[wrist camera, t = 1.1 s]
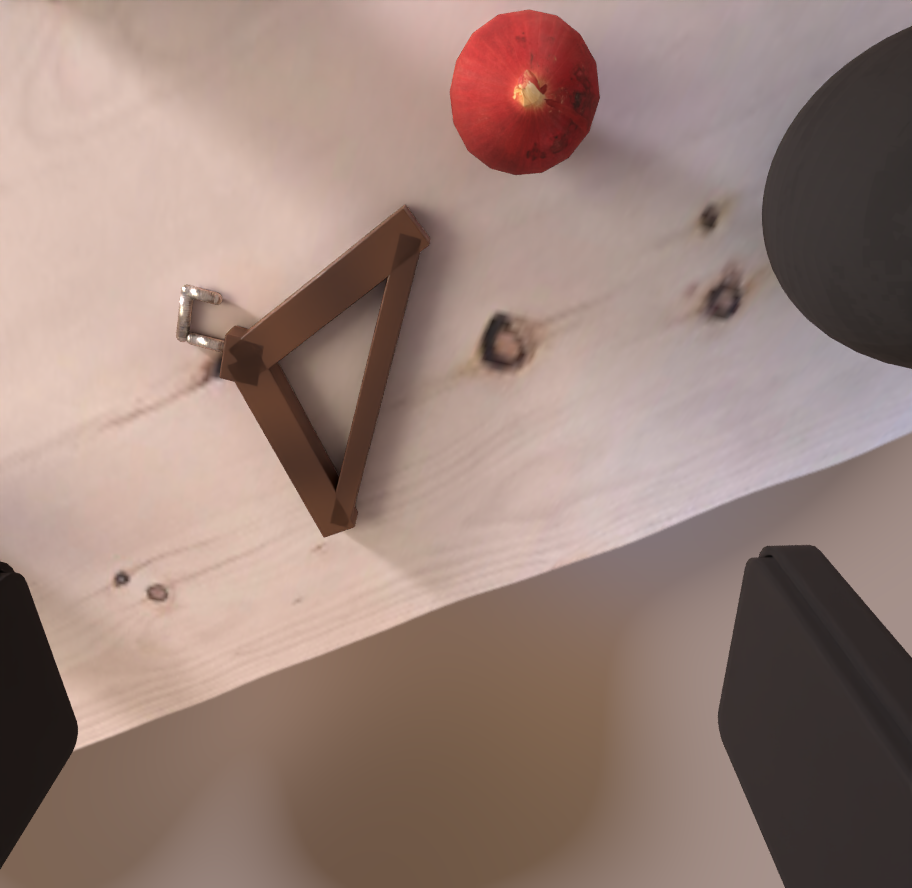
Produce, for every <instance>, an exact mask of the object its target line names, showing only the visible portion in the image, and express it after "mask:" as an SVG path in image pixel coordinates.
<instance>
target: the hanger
mask: <svg viewBox="0 0 912 888" xmlns="http://www.w3.org/2000/svg"><path fill="white" fill-rule="evenodd" d="M429 244H430V237H429V236H428V234H427V233H426V232H425V230H424V229H423V228H422V226H421V225H420V223H419V222H418V221H417V219H416V218H415V217H414V215H413V214H412V213H411V211H410V210H409V208H408V207H407V206H406V205H403V206H402V207H401V208H400V209H398V210H397V211H396V212H395V213H393V214H392V215H391V216H390V217H388V218H387V219H386V220H385V221H383V222H382V223H381V224H380V225H378V226H377V227H376V228H375V229H373V230H372V231H371V232H370V233H368V234H367V235H366V236H365V237H363V238H362V239H361V240H360V241H358V242H357V243H356V244H355V245H353V246H352V247H351V248H350V249H348V250H347V251H346V252H345V253H343V254H342V255H341V256H340V257H338V258H337V259H336V260H335V261H333V262H332V263H331V264H330V265H328V266H327V267H326V268H325V269H323V270H322V271H321V272H320V273H318V274H317V275H316V276H315V277H313V278H312V279H311V280H310V281H308V282H307V283H306V284H305V285H303V286H302V287H301V288H300V289H299V290H297V291H296V292H295V293H294V294H292V295H291V296H290V297H289V298H287V299H286V300H285V301H284V302H282V303H281V304H280V305H279V306H277V307H276V308H275V309H274V310H272V311H271V312H270V313H269V314H267V315H266V316H265V317H264V318H262V319H261V320H260V321H259V322H257V323H256V324H255V325H254V326H252V327H251V328H250V329H246V328H242V327H239V326H234V327H233V328H232V329H231V330H230V331H229V332H228V333H227V334H226V335H225V341H223V340H219V339H215V338H211V337H208V336H204V335H200V334H196V333H189V330H190V322H191V313H192V305H193V299H196V300H200V301H204V302H207V303H211V304H215V305H218V304H220V303H221V302H222V296H221V295H220V294H219V293H217V292H213V291H209V290H206V289H202V288H198V287H195V286H191V285H184V286H183V287H182V288H181V295H180V304H179V313H178V322H177V332H176V338H177V339H178V340H179V341H180V342H185V341H187V342H188V343H189V344H192V345H196V346H199V347H203V348H207V349H211V350H215V351H219V352H223V356H222V363H221V370H220V378H222V379H226V380H230V381H234V382H235V383H236V385H237V387H238V388H239V390H240V392H241V394H242V395H243V397H244V399H245V401H246V402H247V404H248V406H249V408H250V409H251V411H252V413H253V415H254V416H255V418H256V420H257V422H258V423H259V425H260V427H261V429H262V430H263V432H264V434H265V436H266V437H267V439H268V441H269V443H270V444H271V446H272V448H273V450H274V451H275V453H276V455H277V457H278V458H279V460H280V462H281V464H282V465H283V467H284V469H285V471H286V472H287V474H288V476H289V478H290V479H291V481H292V483H293V485H294V486H295V488H296V490H297V492H298V493H299V495H300V497H301V499H302V500H303V502H304V504H305V506H306V507H307V509H308V511H309V513H310V514H311V516H312V518H313V520H314V521H315V523H316V525H317V527H318V528H319V530H320V532H321V534H322V535H323V537H327V536H330V535H333V534H336V533H339V532H342V531H345V530H348V529H351V528H353V527H355V524H356V520H357V515H358V511H357V509H356V507H355V503H356V499H357V495H358V491H359V487H360V483H361V480H362V476H363V472H364V468H365V464H366V460H367V456H368V453H369V449H370V445H371V441H372V437H373V433H374V429H375V425H376V422H377V418H378V414H379V410H380V406H381V402H382V398H383V395H384V391H385V387H386V383H387V379H388V375H389V371H390V367H391V364H392V360H393V356H394V352H395V348H396V344H397V340H398V337H399V333H400V329H401V325H402V321H403V317H404V313H405V310H406V306H407V302H408V298H409V294H410V290H411V286H412V282H413V279H414V275H415V271H416V267H417V263H418V259H419V255H420V252H421V251H422V250H423V249H425V248H426V247H427V246H429ZM387 277H388V278H387ZM386 278H387V282H386V286H385V290H384V294H383V298H382V302H381V306H380V311H379V315H378V319H377V323H376V327H375V331H374V335H373V340H372V344H371V348H370V352H369V356H368V360H367V364H366V368H365V373H364V377H363V381H362V385H361V389H360V393H359V397H358V402H357V406H356V410H355V414H354V418H353V422H352V426H351V431H350V435H349V439H348V443H347V447H346V451H345V455H344V459H343V464H342V468H341V472H340V476H338V474H337V472H336V470H335V468H334V466H333V464H332V463H331V461H330V459H329V457H328V455H327V453H326V451H325V449H324V448H323V446H322V444H321V442H320V440H319V438H318V436H317V435H316V433H315V431H314V429H313V427H312V425H311V423H310V421H309V420H308V418H307V416H306V414H305V412H304V410H303V408H302V406H301V405H300V403H299V401H298V399H297V397H296V395H295V393H294V391H293V390H292V388H291V386H290V384H289V382H288V380H287V378H286V377H285V375H284V373H283V371H282V369H281V367H280V365H279V363H278V361H280V360H281V359H282V358H284V357H285V356H286V355H288V354H289V353H290V352H291V351H293V350H294V349H295V348H297V347H298V346H299V345H300V344H302V343H303V342H304V341H306V340H307V339H308V338H310V337H311V336H312V335H313V334H315V333H316V332H317V331H319V330H320V329H321V328H322V327H324V326H325V325H326V324H328V323H329V322H330V321H332V320H333V319H334V318H335V317H337V316H338V315H339V314H341V313H342V312H343V311H344V310H346V309H347V308H348V307H350V306H351V305H352V304H354V303H355V302H356V301H357V300H359V299H360V298H361V297H363V296H364V295H365V294H366V293H368V292H369V291H370V290H372V289H373V288H374V287H376V286H377V285H378V284H379V283H381V282H382V281H383V280H385V279H386Z"/></svg>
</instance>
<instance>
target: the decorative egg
mask: <svg viewBox="0 0 912 888" xmlns="http://www.w3.org/2000/svg"><path fill="white" fill-rule="evenodd" d="M762 225H763V235H764V241H765V246H766V251H767V254H768V257H769V260H770V263H771V266H772V269H773V271H774V273H775V275H776V277H777V279H778V281H779V283H780V285H781V287H782V288H783V290H784V291H785V293H786V294H787V296H788V297H789V299H790V300H791V301H792V302H793V304H794V305H795V306H796V307H797V308H798V309H799V311H800V312H801V313H802V314H803V315H804V316H805V317H806V318H807V319H808V320H809V321H810V322H812V323H813V324H814V325H815V326H817V327H818V328H819V329H820V330H822V331H823V332H824V333H825V334H827V335H828V336H829V337H831V338H833V339H834V340H836V341H838V342H840V343H842V344H843V345H845V346H847V347H849V348H851V349H852V350H854V351H856V352H858V353H861V354H863V355H866V356H869V357H872V358H874V359H877V360H880V361H882V362H885V363H888V364H893V365H897V366H902V367H906V368H911V369H912V26H911V27H909V28H906V29H904V30H902V31H900V32H898V33H896V34H894V35H892V36H890V37H888V38H886V39H884V40H882V41H881V42H879V43H877V44H876V45H874V46H872V47H871V48H869V49H868V50H866V51H865V52H863V53H862V54H860V55H859V56H857V57H856V58H855V59H853V60H852V61H850V62H849V63H848V64H846V65H845V66H844V67H843V68H841V69H840V70H839V71H838V72H837V73H836V74H834V75H833V76H832V77H831V78H830V79H829V80H828V81H827V82H826V83H825V84H824V85H823V86H822V87H821V88H820V89H819V90H818V91H817V92H816V93H815V94H814V95H813V96H812V97H811V98H810V100H809V101H808V102H807V103H806V105H805V106H804V107H803V108H802V109H801V111H800V112H799V113H798V115H797V116H796V118H795V119H794V121H793V122H792V124H791V125H790V127H789V128H788V130H787V132H786V133H785V135H784V137H783V139H782V141H781V143H780V144H779V146H778V149H777V151H776V154H775V156H774V158H773V161H772V164H771V167H770V170H769V173H768V176H767V181H766V185H765V190H764V197H763V207H762Z"/></svg>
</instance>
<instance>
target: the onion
mask: <svg viewBox="0 0 912 888" xmlns="http://www.w3.org/2000/svg"><path fill="white" fill-rule="evenodd" d="M450 98H451V106H452V114H453V122H454V125H455V127H456V129H457V131H458V133H459V135H460V136H461V138H462V140H463V142H464V144H465V146H466V148H467V150H468V151H469V152H470V153H471V154H473V155H474V156H475V157H477V158H478V159H479V160H480V161H482V162H483V163H484V164H486V165H487V166H488V167H489V168H491V169H495V170H498V171H502V172H506V173H510V174H513V175H522V174H533V173H542V172H544V171H546V170H548V169H549V168H551V167H553V166H555V165H557V164H558V163H560V162H562V161H564V160H565V159H567V158H569V157H570V155H571V154H572V153H573V152H574V150H575V149H576V148H577V147H578V145H579V144H580V143H581V142H582V140H583V139H584V138H585V136H586V135H587V134H588V133H589V131H590V128H591V124H592V121H593V118H594V115H595V112H596V108H597V105H598V102H599V99H600V95H599V85H598V76H597V66H596V62H595V60H594V58H593V56H592V54H591V53H590V51H589V49H588V47H587V45H586V44H585V42H584V40H583V38H582V36H581V35H580V34H579V33H578V32H577V31H576V30H574V29H573V28H572V27H571V26H569V25H568V24H567V23H566V22H564V21H563V20H562V19H561V18H559V17H558V16H556V15H551V14H547V13H542V12H538V11H533V10H524V11H518V12H512V13H506V14H500V15H497V16H496V17H494V18H493V19H492V20H490V21H489V22H487V23H486V24H485V25H483V26H482V27H481V28H479V29H478V30H476V31H475V32H474V33H473V34H472V35H471V37H470V39H469V40H468V42H467V44H466V45H465V47H464V49H463V50H462V52H461V54H460V55H459V57H458V59H457V61H456V65H455V70H454V74H453V79H452V84H451V89H450Z"/></svg>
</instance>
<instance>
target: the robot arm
mask: <svg viewBox="0 0 912 888" xmlns="http://www.w3.org/2000/svg"><path fill="white" fill-rule="evenodd" d="M718 724H719V731H720V735H721V739H722V742H723V744H724V747H725V749H726V751H727V753H728V756H729V758H730V761H731V763H732V765H733V767H734V770H735V772H736V774H737V777H738V779H739V781H740V784H741V786H742V788H743V791H744V793H745V795H746V798H747V800H748V802H749V805H750V807H751V809H752V812H753V814H754V816H755V819H756V821H757V823H758V825H759V828H760V830H761V833H762V835H763V837H764V840H765V842H766V844H767V847H768V849H769V851H770V854H771V856H772V858H773V860H774V863H775V865H776V867H777V870H778V872H779V874H780V877H781V879H782V881H783V884H784V886H785V888H912V658H911V656H910V655H909V654H908V653H907V652H906V651H905V649H904V648H903V647H902V646H901V645H900V644H899V642H898V641H897V640H896V639H895V638H894V637H893V635H892V634H891V633H890V632H889V631H888V630H887V629H886V627H885V626H884V625H883V624H882V623H881V622H880V620H879V619H878V618H877V617H876V615H875V614H874V613H873V612H872V611H871V610H870V608H869V607H868V606H867V605H866V604H865V603H864V602H863V600H862V599H861V598H860V597H859V596H858V594H857V593H856V592H855V591H854V590H853V589H852V587H851V586H850V585H849V584H848V583H847V582H846V580H845V579H844V578H843V577H842V576H841V575H840V573H839V572H838V571H837V570H836V569H835V568H834V566H833V565H832V564H831V563H830V562H829V560H828V559H827V558H826V557H825V556H824V555H823V553H822V552H821V551H820V550H819V549H817V548H816V547H815V546H811V545H794V546H793V545H791V546H790V545H789V546H766V547H764V548H763V549H762V551H761V552H760V554H759V558H751V559H749V560H748V561H747V563H746V567H745V571H744V576H743V582H742V587H741V593H740V598H739V603H738V609H737V614H736V619H735V625H734V630H733V636H732V641H731V646H730V651H729V657H728V662H727V667H726V673H725V678H724V684H723V689H722V694H721V700H720V705H719V711H718ZM77 735H78V725H77V721H76V718H75V715H74V712H73V710H72V707H71V704H70V701H69V698H68V696H67V693H66V690H65V687H64V685H63V682H62V679H61V676H60V673H59V671H58V668H57V665H56V662H55V660H54V657H53V654H52V651H51V648H50V646H49V643H48V640H47V637H46V635H45V632H44V629H43V626H42V623H41V621H40V618H39V615H38V612H37V610H36V607H35V604H34V601H33V598H32V596H31V593H30V590H29V587H28V585H27V582H26V580H25V578H24V577H23V576H22V575H21V574H19V573H15V572H14V570H13V568H12V567H10V566H9V565H8V564H7V563H4V562H0V869H1V867H2V865H3V864H4V862H5V861H6V859H7V857H8V856H9V854H10V852H11V851H12V849H13V848H14V846H15V845H16V843H17V841H18V840H19V838H20V836H21V835H22V833H23V832H24V830H25V828H26V827H27V825H28V823H29V822H30V820H31V819H32V817H33V815H34V814H35V812H36V810H37V809H38V807H39V806H40V804H41V802H42V801H43V799H44V798H45V796H46V794H47V793H48V791H49V789H50V788H51V786H52V784H53V783H54V781H55V780H56V778H57V776H58V775H59V773H60V772H61V770H62V768H63V766H64V765H65V763H66V762H67V760H68V759H69V757H70V755H71V754H72V752H73V750H74V747H75V744H76V741H77Z"/></svg>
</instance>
